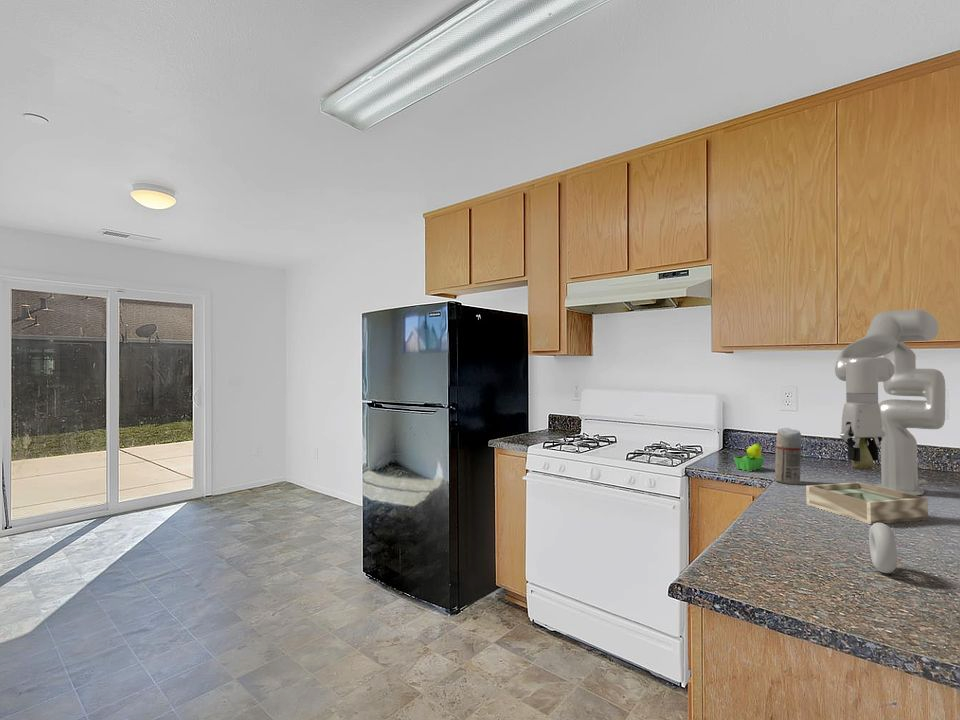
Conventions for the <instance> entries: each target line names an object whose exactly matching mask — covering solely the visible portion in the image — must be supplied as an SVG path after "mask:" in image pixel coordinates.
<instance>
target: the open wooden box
mask: <svg viewBox="0 0 960 720" xmlns="http://www.w3.org/2000/svg"><path fill="white" fill-rule="evenodd" d="M805 486H806V488H805V491H806V492H805V493H806V500H805V501H806V506H808V507H811V506H812V508H814V507H815V509H818V508H819V509H818V510H821V509H822V510H821V511H824V510H825V511H824V512H827V511H828V512H829V513H831V512H832V513H831V514H834V513H835V514H834V515H837V514H838V516H840V515H842V516H841V517H844V516H846V517H845V518H847V517H849V518H848V519H850V518H852V519H851V520H853V519H856V520H859V521H858V522H860V521H862V522H861V523H863V522H865V523H864V524H866V523H868V524H867V525H869V524H874V523H887V524H895V523H897V522H898V523H907V522H919V521H920V520H921V521H928V520H929V506H928V505H929V504H928V503H929V500H928V498H927V497H924V496H921V495H911V494H907V493H902V492H898V491H894V490H889V489H885V488H881V487H876V485H871V484H868V483H863V482H858V481H857V482H856V481H855V482H845V483H844V482H841V483H827V484H812V485H805ZM856 520H855V521H856ZM898 523H897V524H898Z"/></svg>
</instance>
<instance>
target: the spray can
mask: <svg viewBox="0 0 960 720" xmlns="http://www.w3.org/2000/svg"><path fill="white" fill-rule="evenodd" d="M801 461H802V433H801V432H800V430H798V429H793V428H789V427H782V428H778V429H777V433H776V442H775V462H774V463H775V465H774V466H775V467H774V468H775V471H774V473H775V479H774V481H776V482H779V483H782V484H788V485H789V484H790V485H799V483H800V484H801V467H802V465H801V464H802V462H801Z"/></svg>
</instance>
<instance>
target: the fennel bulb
mask: <svg viewBox="0 0 960 720" xmlns="http://www.w3.org/2000/svg"><path fill="white" fill-rule="evenodd" d="M868 446H869V445H868V444H867V438H860V441H859V445H858V447H857V448H860V461H852V460H851V462H852V465H851V466H852V467H853V468H854V469H855V470H858V471H871V470H872V469H873V468H874V460H873V459H872V456H871V454H870V452H869V449H868Z"/></svg>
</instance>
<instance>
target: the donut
mask: <svg viewBox="0 0 960 720" xmlns="http://www.w3.org/2000/svg"><path fill="white" fill-rule="evenodd" d="M868 531H869V532H868V545H869V552H870V558H871V563H872V564H873V567H874V568H875V569H876V570H877V571H878V572H881V573H883V574H890V573H892V572H894V571H895V570H896V568H897V563H898V549H897V543H896V542H897V541H896V539H895V538H896V537H895V535H894V532H893V530H892V528H891V527H890V526H889V525H887V524H883V523H874V524H873V525H870V527H869V530H868Z"/></svg>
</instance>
